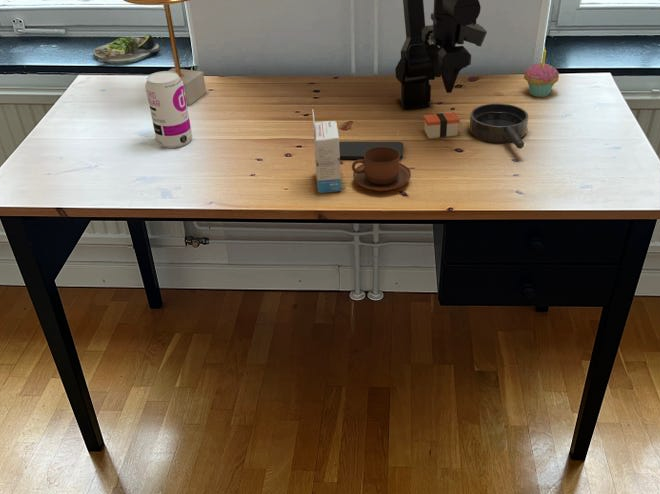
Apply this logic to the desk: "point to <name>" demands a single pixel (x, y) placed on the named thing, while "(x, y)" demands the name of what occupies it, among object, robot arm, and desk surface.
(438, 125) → the sushi
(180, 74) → the lamp
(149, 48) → the salad plate
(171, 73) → the supplement can
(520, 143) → the pan handle
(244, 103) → the desk surface
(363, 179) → the cup and saucer
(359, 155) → the phone
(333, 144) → the ink box
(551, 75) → the cupcake
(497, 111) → the pan
